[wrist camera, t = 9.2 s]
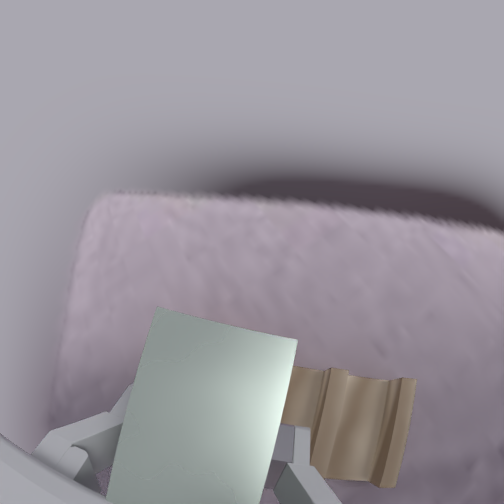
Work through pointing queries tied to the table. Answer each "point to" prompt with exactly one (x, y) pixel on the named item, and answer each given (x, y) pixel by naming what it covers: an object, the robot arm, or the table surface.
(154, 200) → the table surface
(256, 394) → the block
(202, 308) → the table surface
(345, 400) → the rack
